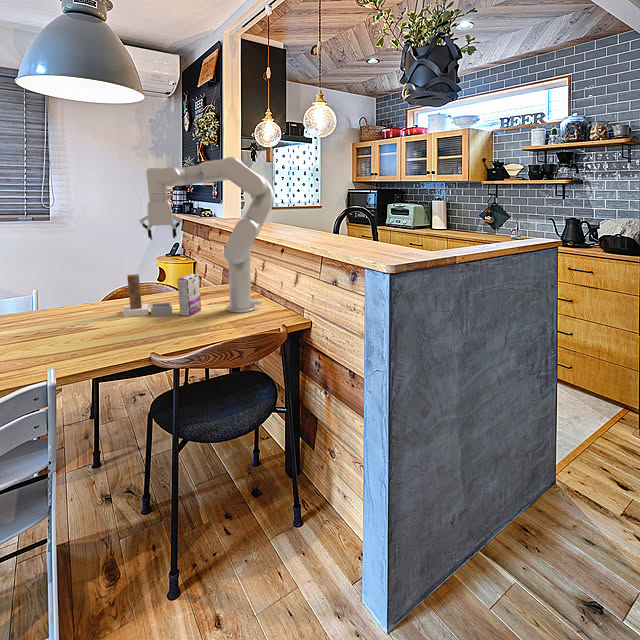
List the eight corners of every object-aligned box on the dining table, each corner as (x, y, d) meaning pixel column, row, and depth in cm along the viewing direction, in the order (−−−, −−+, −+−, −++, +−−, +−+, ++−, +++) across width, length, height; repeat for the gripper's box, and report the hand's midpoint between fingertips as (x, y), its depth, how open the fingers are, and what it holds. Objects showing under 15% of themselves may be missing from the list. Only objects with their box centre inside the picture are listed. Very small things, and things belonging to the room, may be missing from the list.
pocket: (171, 309, 209) (171, 302, 208) (172, 314, 201) (171, 307, 200) (151, 311, 206) (150, 303, 206) (151, 316, 199) (150, 308, 198)
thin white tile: (148, 309, 209) (148, 304, 209) (148, 315, 200) (147, 309, 200) (124, 310, 206) (123, 305, 206) (123, 316, 197) (122, 311, 196)
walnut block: (141, 305, 205) (138, 274, 202) (141, 308, 201) (138, 276, 198) (130, 306, 204) (127, 274, 200) (130, 309, 200) (127, 276, 196)
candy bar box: (191, 309, 211) (189, 273, 206) (201, 310, 210) (199, 274, 205) (179, 315, 200) (176, 278, 196) (190, 316, 199) (187, 278, 195)
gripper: (178, 197, 205) (182, 237, 210) (136, 198, 200) (141, 239, 204) (180, 198, 199) (184, 238, 203) (136, 198, 193) (141, 240, 198)
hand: (162, 238), depth 204 cm, fingers open, 9 cm apart
